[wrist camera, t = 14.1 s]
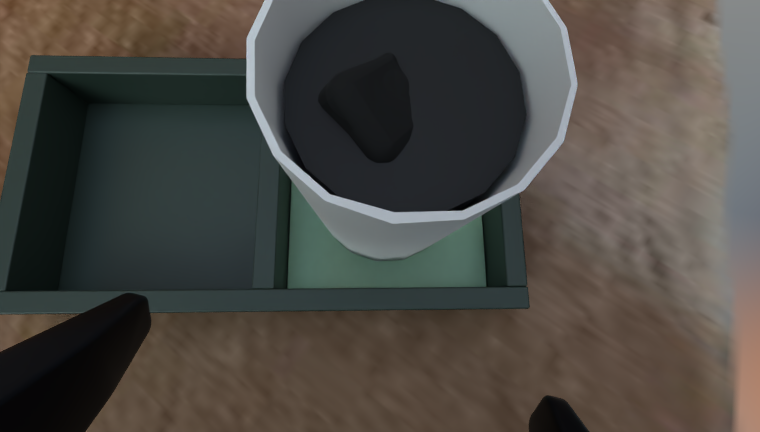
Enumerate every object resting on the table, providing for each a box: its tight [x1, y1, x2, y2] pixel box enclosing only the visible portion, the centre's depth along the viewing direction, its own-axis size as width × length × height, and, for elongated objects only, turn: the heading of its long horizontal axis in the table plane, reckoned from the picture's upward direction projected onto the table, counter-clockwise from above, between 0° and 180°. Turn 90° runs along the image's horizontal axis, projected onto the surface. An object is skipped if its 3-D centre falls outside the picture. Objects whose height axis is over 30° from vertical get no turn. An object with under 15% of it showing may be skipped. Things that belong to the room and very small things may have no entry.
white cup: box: [246, 0, 578, 261], centre depth 13 cm, size 7×7×10 cm
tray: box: [0, 55, 530, 314], centre depth 17 cm, size 10×19×3 cm, turn 90°
